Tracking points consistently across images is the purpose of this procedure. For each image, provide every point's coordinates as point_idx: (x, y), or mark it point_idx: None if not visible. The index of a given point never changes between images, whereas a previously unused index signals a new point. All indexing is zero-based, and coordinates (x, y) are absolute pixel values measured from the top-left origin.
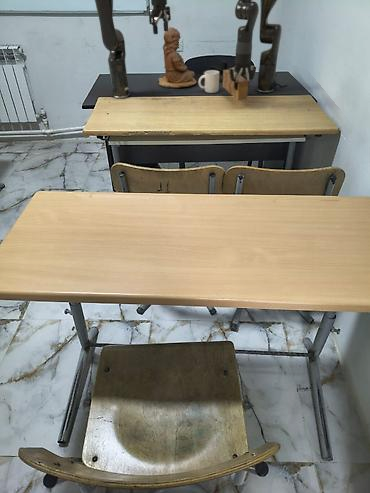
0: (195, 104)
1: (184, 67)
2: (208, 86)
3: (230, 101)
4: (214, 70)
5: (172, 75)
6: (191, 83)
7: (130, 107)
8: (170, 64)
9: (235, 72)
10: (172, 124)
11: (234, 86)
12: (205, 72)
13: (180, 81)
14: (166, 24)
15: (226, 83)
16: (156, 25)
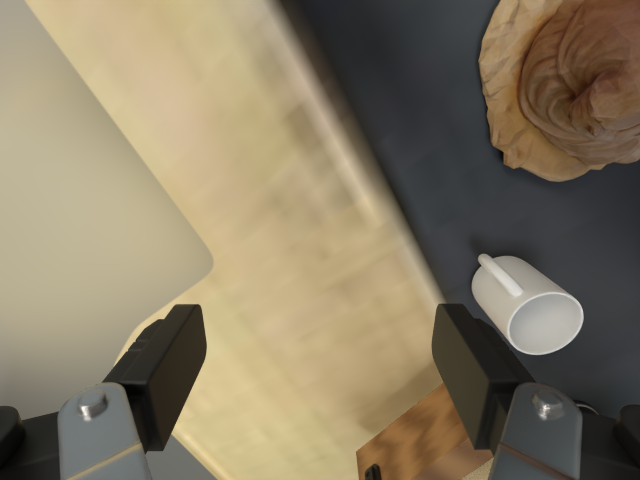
0: (331, 303)
1: (619, 133)
2: (481, 296)
3: (415, 380)
4: (580, 319)
5: (539, 79)
6: (546, 173)
7: (149, 91)
8: (584, 61)
9: (485, 460)
10: (135, 336)
11: (370, 474)
12: (541, 293)
13: (533, 123)
14: (464, 418)
15: (451, 402)
16: (148, 441)
